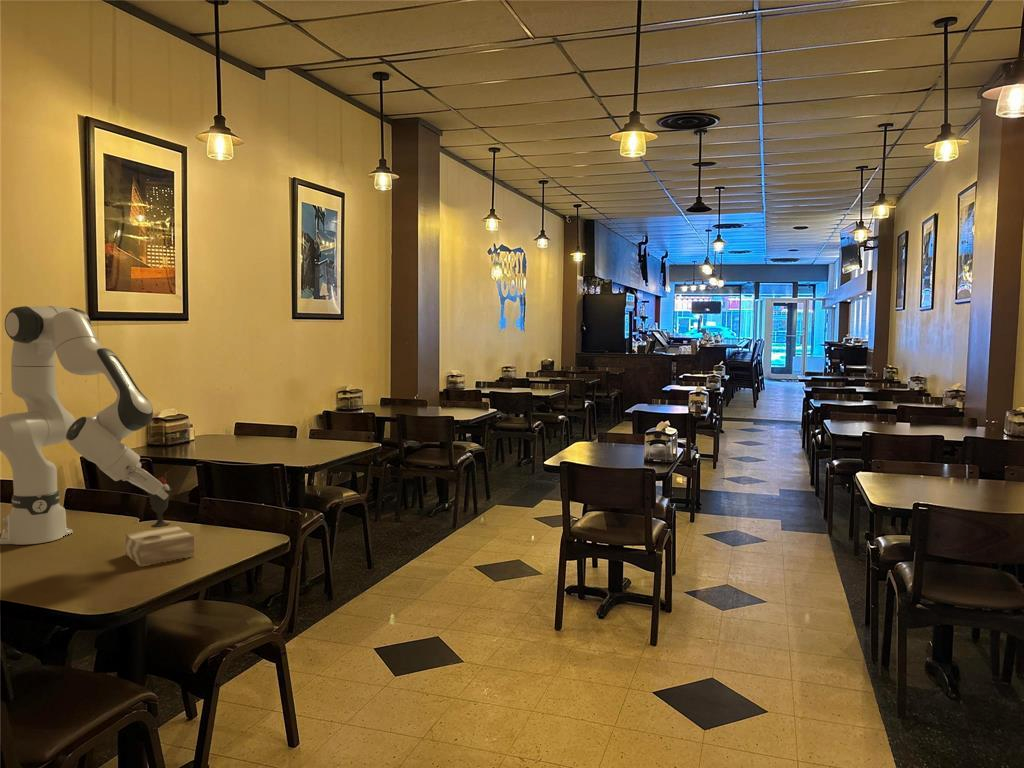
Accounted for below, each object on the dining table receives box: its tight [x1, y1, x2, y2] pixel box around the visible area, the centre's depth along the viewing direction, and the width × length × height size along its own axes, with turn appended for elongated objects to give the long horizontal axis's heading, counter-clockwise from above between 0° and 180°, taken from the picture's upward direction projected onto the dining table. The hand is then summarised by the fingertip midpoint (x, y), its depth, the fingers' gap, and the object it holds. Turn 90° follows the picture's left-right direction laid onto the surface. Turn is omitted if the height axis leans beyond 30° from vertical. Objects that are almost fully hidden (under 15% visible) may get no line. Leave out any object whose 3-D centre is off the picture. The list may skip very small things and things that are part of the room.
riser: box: [125, 525, 195, 568], centre depth 204 cm, size 14×14×6 cm
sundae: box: [145, 471, 173, 528], centre depth 203 cm, size 7×7×15 cm
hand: (161, 494), depth 203 cm, fingers closed on sundae, 6 cm apart
